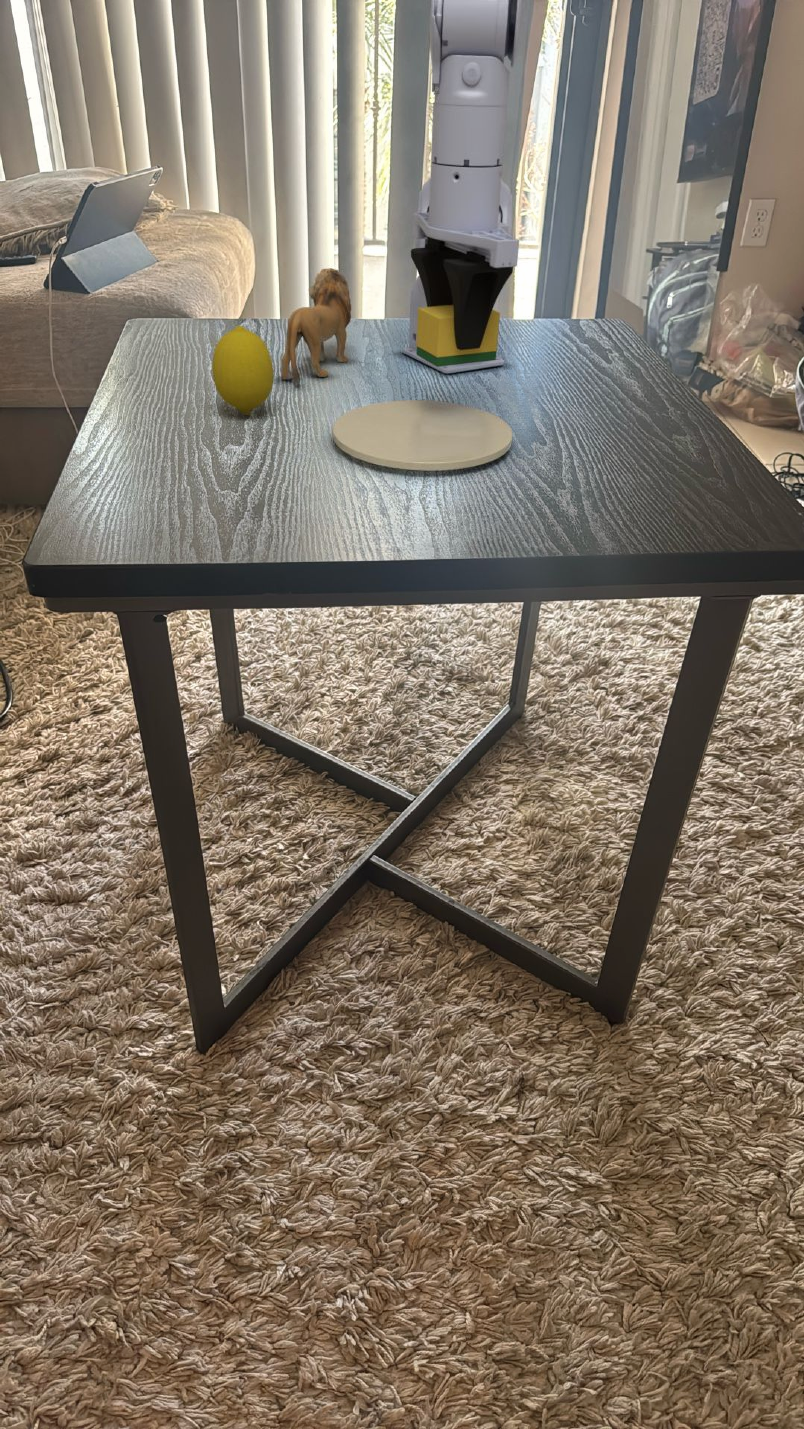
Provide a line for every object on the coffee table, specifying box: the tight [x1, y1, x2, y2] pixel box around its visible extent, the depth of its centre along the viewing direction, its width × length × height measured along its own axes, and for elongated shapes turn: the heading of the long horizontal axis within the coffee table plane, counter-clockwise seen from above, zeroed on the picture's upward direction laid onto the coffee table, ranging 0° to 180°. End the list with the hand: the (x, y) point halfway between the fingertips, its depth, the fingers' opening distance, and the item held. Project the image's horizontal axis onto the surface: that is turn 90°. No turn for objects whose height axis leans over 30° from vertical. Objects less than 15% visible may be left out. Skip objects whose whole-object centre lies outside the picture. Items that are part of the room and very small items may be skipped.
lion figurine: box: [281, 267, 352, 384], centre depth 96 cm, size 15×5×9 cm, turn 168°
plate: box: [332, 399, 514, 472], centre depth 81 cm, size 16×16×1 cm
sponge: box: [417, 305, 501, 367], centre depth 80 cm, size 4×6×4 cm, turn 116°
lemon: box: [212, 325, 274, 416], centre depth 84 cm, size 6×6×8 cm
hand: (456, 341), depth 81 cm, fingers closed on sponge, 4 cm apart
